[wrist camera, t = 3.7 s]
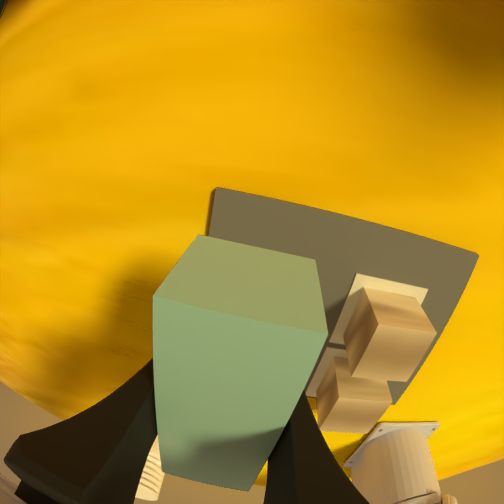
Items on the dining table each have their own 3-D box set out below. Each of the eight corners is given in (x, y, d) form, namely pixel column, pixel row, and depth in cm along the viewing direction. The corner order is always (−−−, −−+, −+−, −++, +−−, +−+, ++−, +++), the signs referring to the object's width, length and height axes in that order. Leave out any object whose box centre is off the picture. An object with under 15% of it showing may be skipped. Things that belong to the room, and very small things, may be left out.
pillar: (392, 343, 20) (406, 381, 16) (342, 335, 20) (351, 376, 16) (415, 297, 18) (436, 333, 15) (363, 286, 18) (378, 324, 15)
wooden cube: (360, 395, 22) (367, 433, 19) (316, 391, 22) (318, 430, 19) (381, 362, 21) (392, 401, 17) (333, 356, 21) (339, 397, 17)
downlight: (111, 391, 26) (75, 468, 17) (149, 370, 24) (109, 465, 15) (168, 431, 29) (146, 506, 20) (212, 417, 26) (194, 506, 17)
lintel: (257, 427, 14) (248, 491, 11) (182, 410, 14) (162, 471, 11) (315, 259, 10) (328, 334, 6) (198, 234, 10) (152, 295, 7)
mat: (393, 401, 23) (394, 405, 23) (193, 370, 23) (191, 374, 23) (476, 253, 17) (479, 256, 16) (217, 186, 17) (215, 188, 17)
